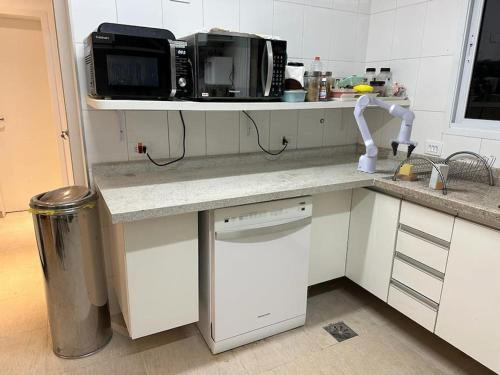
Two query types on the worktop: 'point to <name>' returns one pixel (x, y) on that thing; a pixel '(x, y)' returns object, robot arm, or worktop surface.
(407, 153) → the robot arm
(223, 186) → the worktop surface
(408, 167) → the block
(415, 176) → the trivet
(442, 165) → the skincare box
